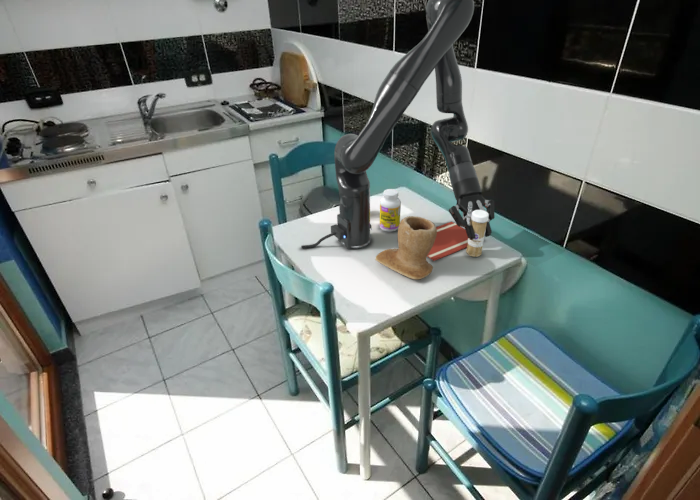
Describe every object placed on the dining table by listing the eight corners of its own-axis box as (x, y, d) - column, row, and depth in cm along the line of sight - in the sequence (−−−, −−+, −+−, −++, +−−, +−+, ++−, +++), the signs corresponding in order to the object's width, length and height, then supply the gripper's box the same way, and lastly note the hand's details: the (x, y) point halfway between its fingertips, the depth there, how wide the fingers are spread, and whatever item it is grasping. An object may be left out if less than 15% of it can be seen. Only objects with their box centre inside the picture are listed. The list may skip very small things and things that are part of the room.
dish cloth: (433, 261, 121) (433, 259, 121) (403, 240, 131) (404, 238, 131) (482, 240, 129) (483, 239, 129) (451, 222, 140) (451, 221, 139)
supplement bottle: (376, 230, 136) (377, 194, 129) (383, 221, 142) (383, 186, 135) (396, 233, 134) (397, 197, 127) (402, 224, 139) (403, 189, 132)
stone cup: (441, 268, 118) (447, 222, 110) (415, 287, 111) (419, 239, 103) (400, 248, 127) (402, 204, 119) (373, 264, 120) (374, 219, 112)
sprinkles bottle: (465, 256, 122) (472, 216, 114) (465, 248, 125) (471, 208, 118) (482, 258, 121) (489, 217, 113) (481, 249, 124) (488, 209, 117)
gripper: (447, 180, 116) (464, 238, 113) (492, 172, 119) (510, 229, 116) (437, 189, 123) (452, 245, 120) (480, 182, 126) (496, 236, 123)
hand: (480, 237), depth 118 cm, fingers closed on sprinkles bottle, 4 cm apart
